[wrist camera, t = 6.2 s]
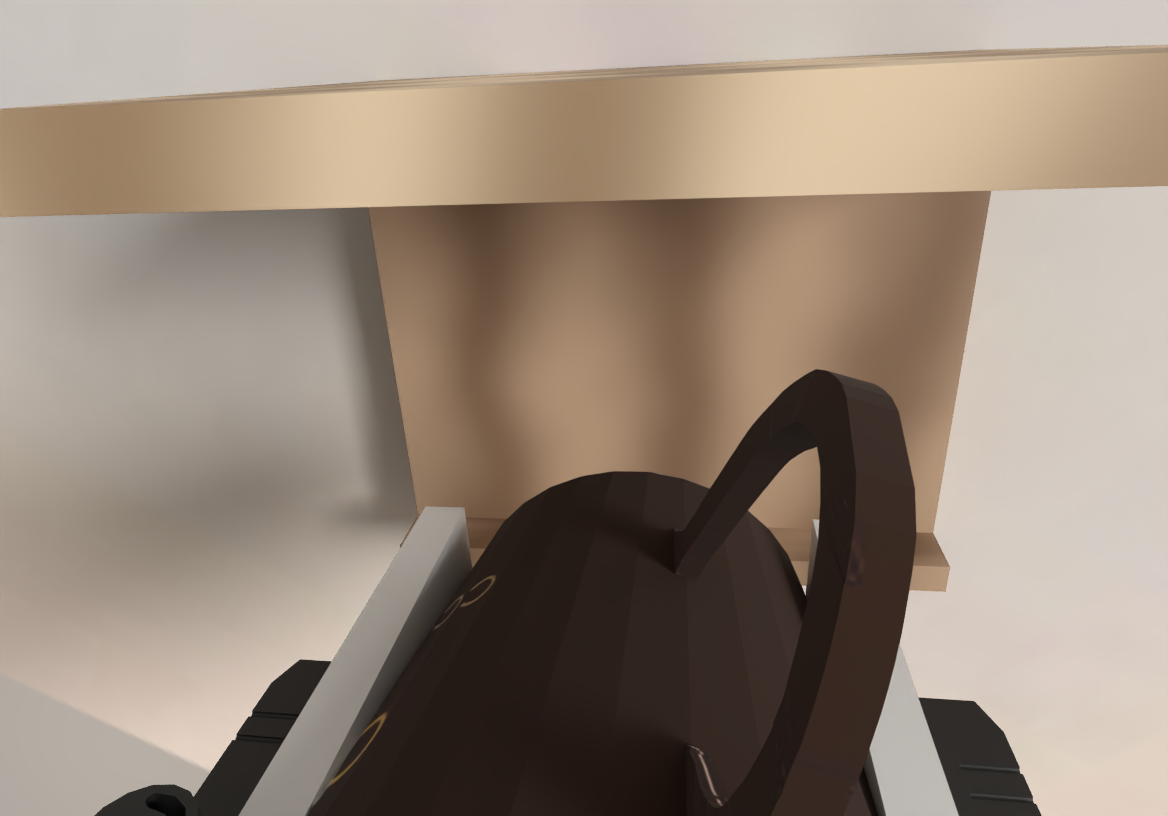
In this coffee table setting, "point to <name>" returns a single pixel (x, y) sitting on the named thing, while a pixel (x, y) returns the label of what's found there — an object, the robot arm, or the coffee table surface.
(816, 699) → the coffee mug
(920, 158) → the light brown blocky piece
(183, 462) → the coffee table surface
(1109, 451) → the coffee table surface
